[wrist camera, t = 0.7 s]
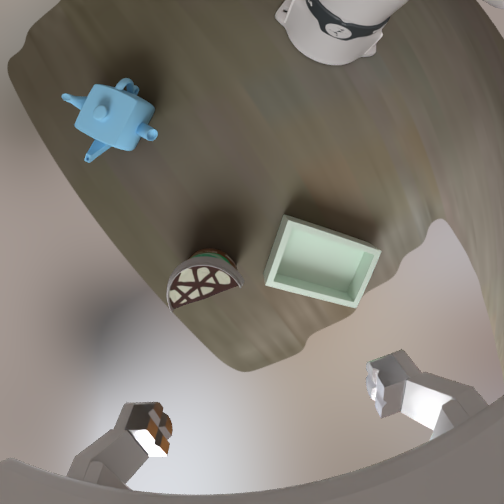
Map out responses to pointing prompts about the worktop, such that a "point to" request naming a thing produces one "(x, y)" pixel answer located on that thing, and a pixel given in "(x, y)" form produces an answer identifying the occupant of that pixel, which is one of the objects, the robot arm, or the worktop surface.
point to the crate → (320, 262)
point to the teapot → (113, 117)
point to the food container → (202, 277)
